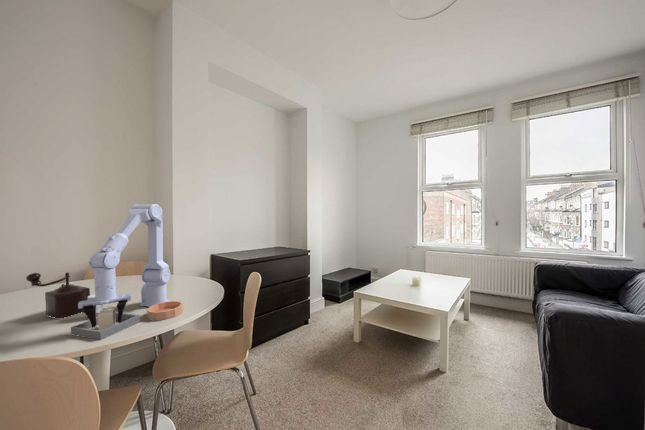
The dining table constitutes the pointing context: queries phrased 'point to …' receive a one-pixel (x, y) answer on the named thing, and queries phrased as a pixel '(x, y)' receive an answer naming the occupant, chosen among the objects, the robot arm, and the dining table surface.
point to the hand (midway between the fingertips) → (107, 324)
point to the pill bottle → (98, 307)
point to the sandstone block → (106, 319)
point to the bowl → (165, 310)
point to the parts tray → (97, 334)
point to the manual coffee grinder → (61, 297)
